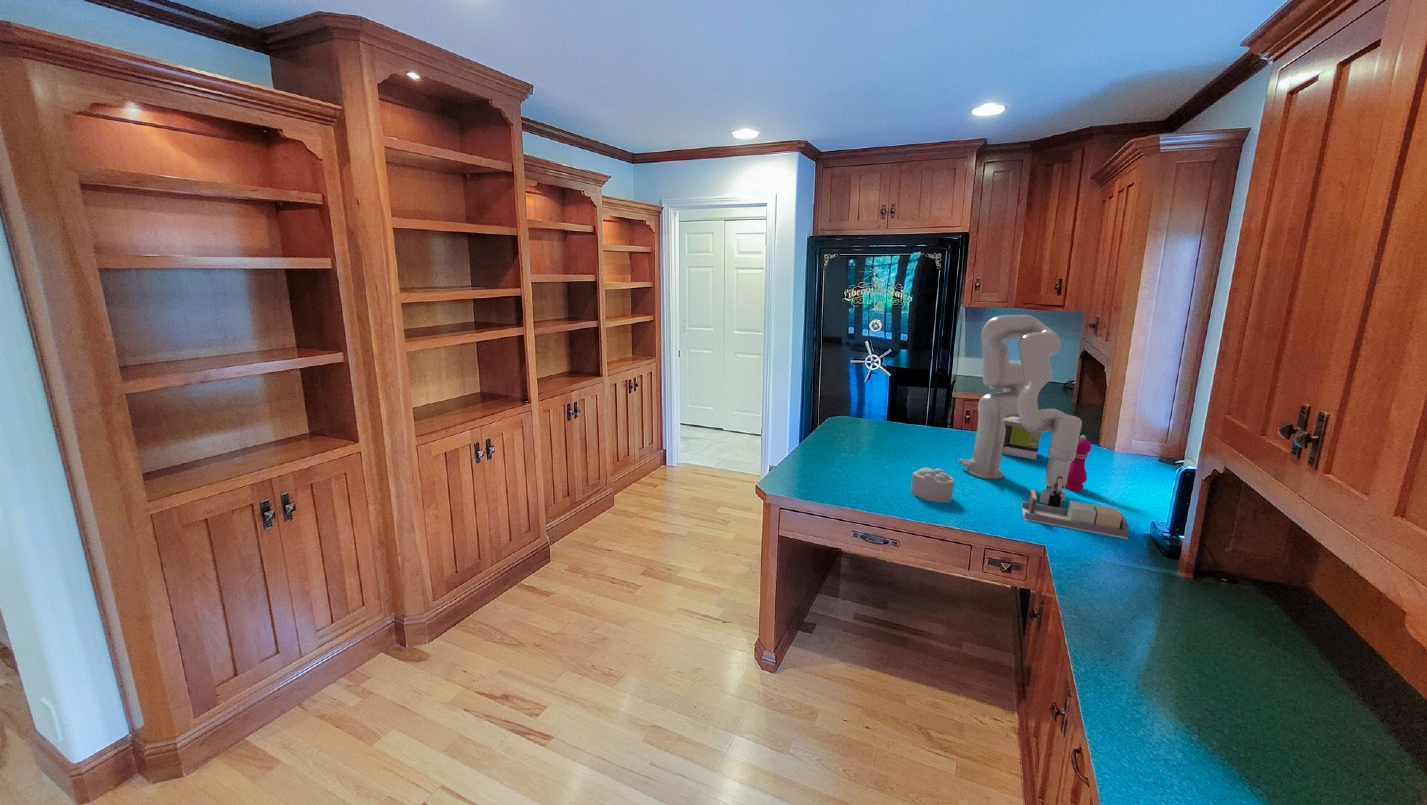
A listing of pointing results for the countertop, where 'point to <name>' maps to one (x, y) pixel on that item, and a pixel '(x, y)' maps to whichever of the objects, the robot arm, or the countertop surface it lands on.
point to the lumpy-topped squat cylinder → (932, 485)
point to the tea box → (1019, 439)
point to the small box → (1046, 495)
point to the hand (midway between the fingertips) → (1051, 501)
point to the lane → (1060, 519)
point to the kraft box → (1107, 517)
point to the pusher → (1032, 502)
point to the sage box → (1081, 512)
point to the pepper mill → (1078, 466)
